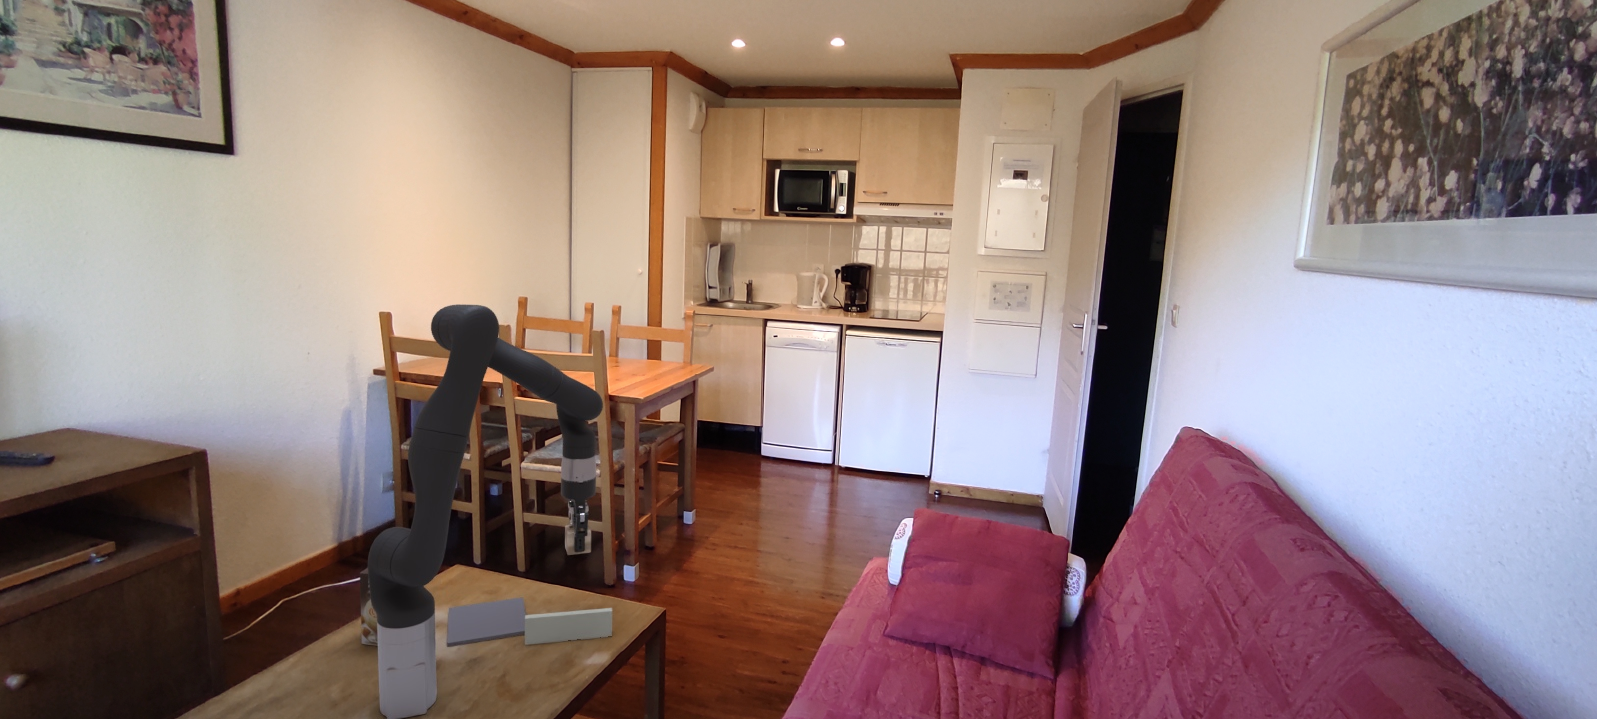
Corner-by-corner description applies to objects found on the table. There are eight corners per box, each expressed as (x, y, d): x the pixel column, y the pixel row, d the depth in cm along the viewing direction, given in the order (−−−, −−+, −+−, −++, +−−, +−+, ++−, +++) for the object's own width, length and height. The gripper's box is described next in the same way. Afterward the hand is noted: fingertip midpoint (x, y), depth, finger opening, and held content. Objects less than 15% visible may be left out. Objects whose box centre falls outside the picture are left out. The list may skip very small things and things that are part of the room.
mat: (528, 633, 157) (528, 630, 157) (447, 646, 151) (447, 643, 150) (523, 600, 172) (523, 596, 172) (448, 610, 165) (448, 607, 165)
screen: (611, 636, 158) (612, 610, 157) (524, 644, 153) (524, 618, 152) (611, 632, 160) (612, 607, 159) (525, 641, 154) (525, 615, 153)
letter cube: (590, 552, 162) (591, 530, 161) (567, 554, 160) (568, 533, 159) (587, 543, 166) (587, 522, 166) (565, 546, 164) (565, 525, 163)
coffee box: (359, 644, 150) (356, 572, 147) (380, 629, 156) (378, 559, 153) (401, 649, 149) (399, 576, 146) (420, 633, 155) (418, 563, 153)
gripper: (557, 466, 165) (556, 536, 168) (565, 486, 152) (564, 561, 155) (590, 464, 168) (589, 533, 171) (601, 483, 156) (599, 557, 158)
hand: (577, 546), depth 163 cm, fingers closed on letter cube, 5 cm apart
